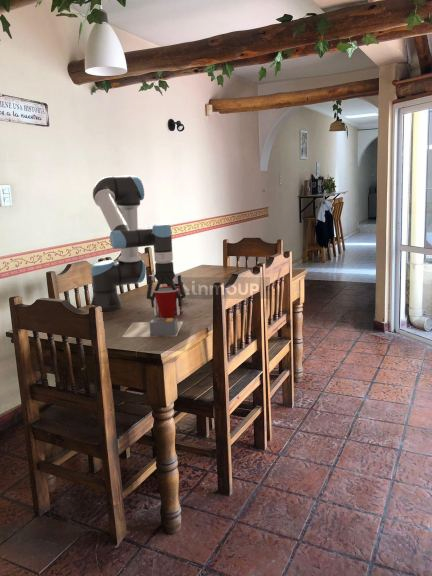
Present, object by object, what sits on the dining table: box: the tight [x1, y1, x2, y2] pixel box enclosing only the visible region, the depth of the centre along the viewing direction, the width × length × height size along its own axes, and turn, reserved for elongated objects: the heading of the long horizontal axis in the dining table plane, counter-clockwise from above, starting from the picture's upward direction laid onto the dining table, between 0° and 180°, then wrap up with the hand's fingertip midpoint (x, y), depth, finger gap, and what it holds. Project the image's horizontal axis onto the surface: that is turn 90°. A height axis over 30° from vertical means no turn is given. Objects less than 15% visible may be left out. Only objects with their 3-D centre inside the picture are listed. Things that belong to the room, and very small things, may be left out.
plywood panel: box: [121, 321, 184, 338], centre depth 199 cm, size 22×20×2 cm
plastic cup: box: [152, 288, 179, 318], centre depth 202 cm, size 11×11×12 cm
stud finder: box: [149, 317, 178, 337], centre depth 191 cm, size 10×6×6 cm, turn 86°
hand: (167, 314), depth 203 cm, fingers closed on plastic cup, 9 cm apart
